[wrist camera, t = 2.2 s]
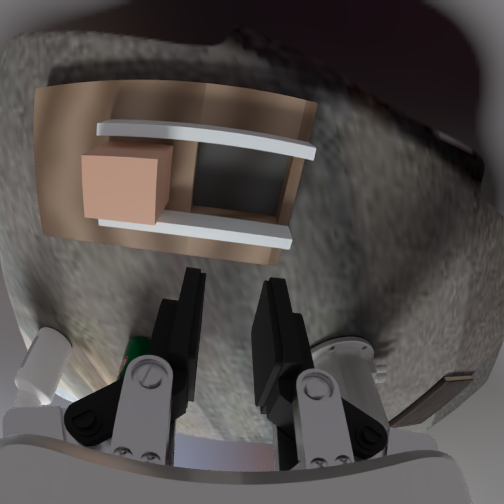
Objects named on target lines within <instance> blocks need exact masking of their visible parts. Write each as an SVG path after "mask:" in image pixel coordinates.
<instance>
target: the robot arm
mask: <svg viewBox="0 0 504 504" xmlns="http://www.w3.org/2000/svg"><path fill="white" fill-rule="evenodd" d="M205 280H206V273H201V269H197V268H190V267H187V268H186V272H185V276H184V280H183V284H182V289H181V293H180V297H179V301H176V300H169V299H162V302H161V305H160V308H159V312H158V315H157V319H156V322H155V326H154V330H153V333H152V337H151V341H150V345H149V349H148V353H147V355H144V356H139V357H137V358H135V359H134V360H132V361H131V362H130V364H129V365H128V367H127V369H126V373H125V377H123V378H121V379H119V380H118V381H116V382H114V383H112V384H110V385H108V386H106V387H104V388H102V389H100V390H98V391H96V392H94V393H92V394H90V395H88V396H86V397H84V398H82V399H80V400H78V401H76V402H74V403H72V404H71V405H69V407H68V408H60V406H49V407H22V408H12V409H10V410H8V411H7V412H6V414H5V416H4V417H3V437H2V438H1V439H0V504H472V500H471V497H470V493H469V490H468V486H467V483H466V480H465V478H464V475H463V473H462V471H461V468H460V467H459V465H458V463H457V462H456V460H455V459H454V458H453V457H452V456H450V455H448V454H446V453H443V452H440V451H438V447H437V443H436V441H435V439H434V438H432V437H431V436H430V435H427V434H422V433H417V432H411V431H406V430H401V429H396V428H392V427H390V426H389V423H388V420H387V417H386V414H385V411H384V408H383V405H382V402H381V399H380V396H379V393H378V390H377V387H376V384H375V383H382V382H385V381H386V379H387V375H386V372H387V365H378V366H376V365H375V364H374V363H373V358H374V350H373V348H372V345H371V344H370V343H369V342H368V341H367V340H365V339H363V338H359V337H340V338H336V339H331V340H329V341H326V342H323V343H321V344H319V345H317V346H315V347H314V348H312V349H310V345H309V341H308V337H307V333H306V329H305V325H304V321H303V317H302V315H301V314H300V313H293V312H292V308H291V303H290V299H289V294H288V290H287V285H286V281H285V279H282V278H273V277H271V278H270V279H269V281H266V280H265V281H264V283H263V287H262V291H261V295H260V299H259V303H258V307H257V311H256V314H255V318H254V322H253V326H252V331H251V341H252V358H253V375H254V392H255V405H256V406H260V410H261V414H267V419H268V420H270V421H271V422H272V423H273V424H272V428H273V445H274V461H275V471H270V472H231V471H230V472H229V471H212V470H200V469H189V468H181V467H174V449H175V433H176V419H177V418H178V417H180V416H182V415H183V414H185V413H186V408H187V405H188V401H192V402H194V392H195V381H196V370H197V360H198V351H199V342H200V333H201V323H202V311H203V300H204V290H205Z"/></svg>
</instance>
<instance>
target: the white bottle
mask: <svg viewBox="0 0 504 504" xmlns="http://www.w3.org/2000/svg"><path fill="white" fill-rule="evenodd" d="M71 351H72V347H71V344H70V343H69V341H68V340H67V339H66V338H65V336H63V335H62V334H61V333H60V332H58V331H56V330H55V329H52V328H49V327H43V328H41V329H40V330H39V332H38V333H37V335H36V337H35V339H34V341H33V342H32V344H31V346H30V348H29V350H28V352H27V354H26V356H25V358H24V360H23V362H22V364H21V366H20V368H19V370H18V373H17V374H16V377H15V384H16V386H17V387H18V389H19V392H18V394H17V396H16V400H15V403H14V405H13V408H22V407H41V404H42V405H48V404H50V403H51V402H52V399H53V397H54V394H55V391H56V389H57V386H58V383H59V381H60V378H61V376H62V373H63V371H64V369H65V366H66V364H67V361H68V359H69V357H70V354H71Z"/></svg>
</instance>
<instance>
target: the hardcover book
mask: <svg viewBox="0 0 504 504" xmlns="http://www.w3.org/2000/svg"><path fill="white" fill-rule="evenodd" d="M473 380H474V379H472V377H471V375H470V376H454V377H442V378H441V379H440V380H439V381H438V382H437V383H436V384H435V385H434V386H433V387H431V388H430V389H429V390H428V391H427V392H426V393H425V394H423V395H422V396H421V397H420V398H419V399H417V400H416V401H415V402H414V403H413V404H411V405H410V406H409V407H408V408H406V409H405V410H404V411H402V412H401V413H400V414H398V415H397V416H396V417H394V418H393V419H392V420H390V421H389V422H388V423H389V426H390V427H392V428H396V427H403V426H409V425H415V424H421V423H422V422H424V421H425V420H426V419H428V418H429V417H431V416H432V415H433V414H434V413H436V412H437V411H438V410H440V409H441V408H442V407H443V406H445V405H446V404H447V403H448V402H449V401H451V400H452V399H453V398H454V397H455V396H457V395H458V394H459V393H460V392H461V391H462V390H463V389H465V388H466V387H467V386H468V385H469V384H470V383H471V382H472V381H473Z"/></svg>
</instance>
